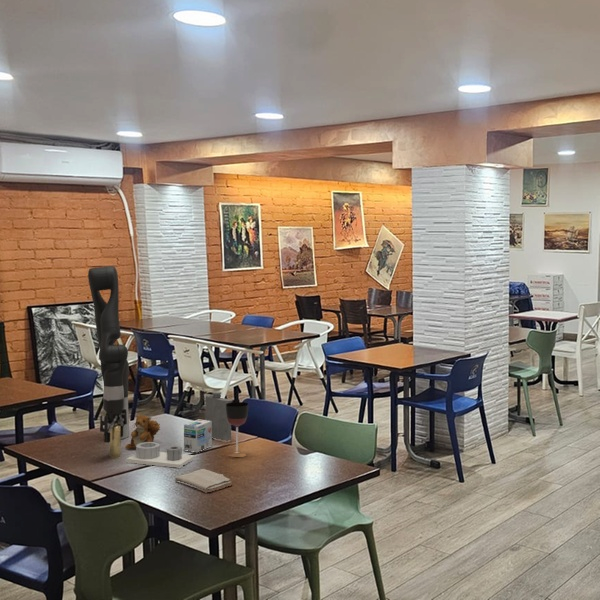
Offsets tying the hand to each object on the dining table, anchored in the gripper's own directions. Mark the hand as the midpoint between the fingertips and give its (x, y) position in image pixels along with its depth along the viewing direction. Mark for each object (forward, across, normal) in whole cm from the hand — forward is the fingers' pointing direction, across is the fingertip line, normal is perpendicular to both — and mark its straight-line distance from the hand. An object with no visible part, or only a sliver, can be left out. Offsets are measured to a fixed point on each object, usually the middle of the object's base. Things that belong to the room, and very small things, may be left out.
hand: (113, 439), depth 262 cm
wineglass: (+7, -18, +43) cm, 47 cm away
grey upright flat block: (+7, -38, +26) cm, 46 cm away
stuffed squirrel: (+7, -17, +3) cm, 19 cm away
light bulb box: (+7, -21, +25) cm, 33 cm away
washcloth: (+8, +16, +46) cm, 49 cm away
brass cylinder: (+7, -1, 0) cm, 7 cm away
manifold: (+7, -2, +19) cm, 20 cm away
